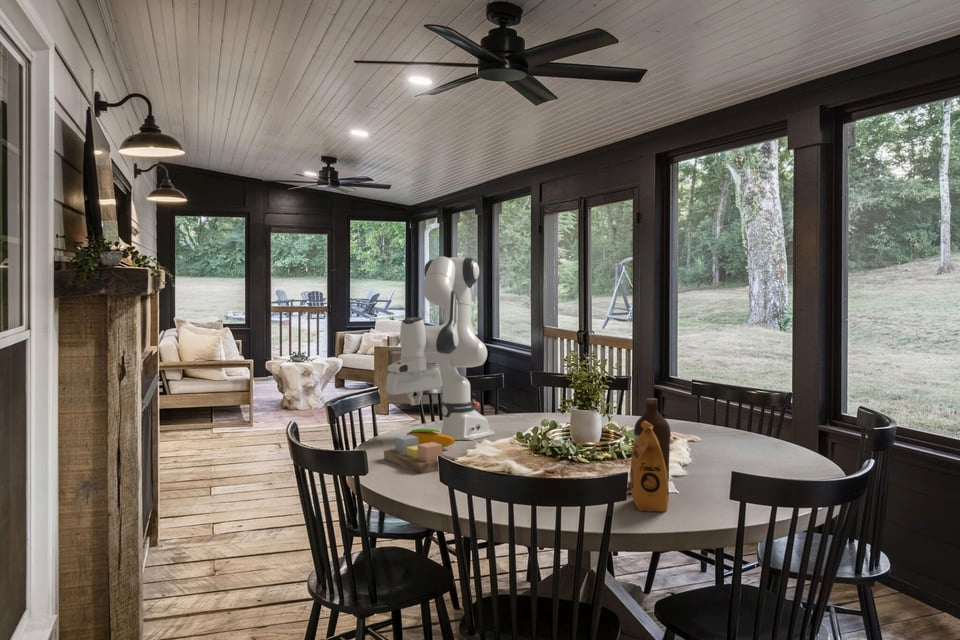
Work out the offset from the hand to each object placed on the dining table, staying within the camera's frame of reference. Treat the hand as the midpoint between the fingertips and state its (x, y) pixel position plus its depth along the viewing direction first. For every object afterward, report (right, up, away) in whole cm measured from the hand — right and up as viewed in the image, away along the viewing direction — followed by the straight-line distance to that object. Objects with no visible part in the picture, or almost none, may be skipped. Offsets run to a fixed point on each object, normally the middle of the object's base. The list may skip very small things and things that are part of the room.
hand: (415, 404), depth 245 cm
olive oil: (+74, -20, -30) cm, 83 cm away
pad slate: (-3, -17, +5) cm, 18 cm away
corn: (+4, -19, +21) cm, 29 cm away
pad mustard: (+1, -19, -2) cm, 20 cm away
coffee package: (+68, -21, -54) cm, 89 cm away
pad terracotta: (+6, -17, -8) cm, 20 cm away
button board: (+1, -20, -2) cm, 20 cm away
